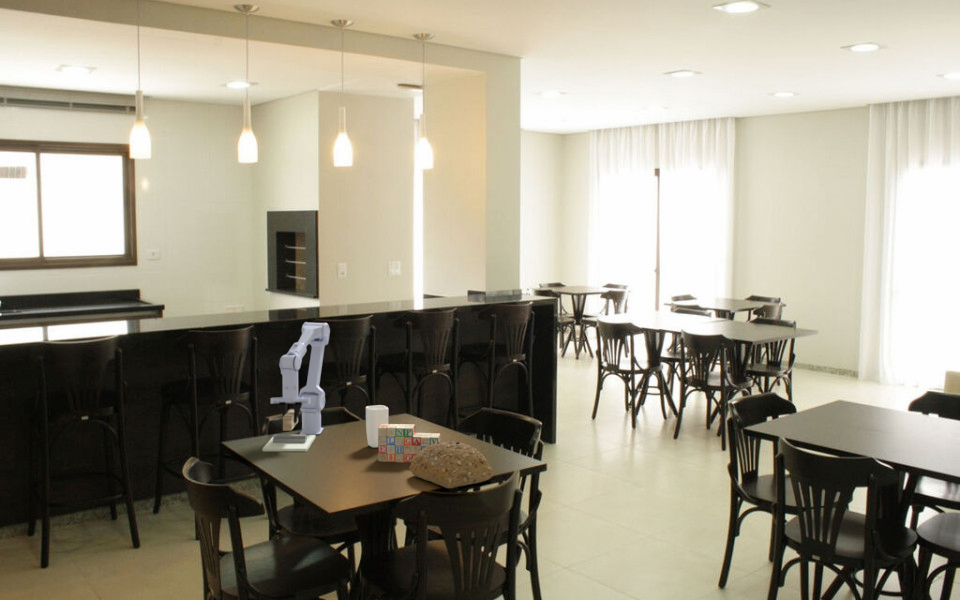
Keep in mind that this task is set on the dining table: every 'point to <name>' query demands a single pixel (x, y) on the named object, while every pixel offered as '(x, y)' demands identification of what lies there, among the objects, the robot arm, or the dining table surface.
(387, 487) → the dining table surface
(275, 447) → the fulcrum stand
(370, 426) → the cup
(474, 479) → the bread
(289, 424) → the beech rod
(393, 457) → the stack of blocks
